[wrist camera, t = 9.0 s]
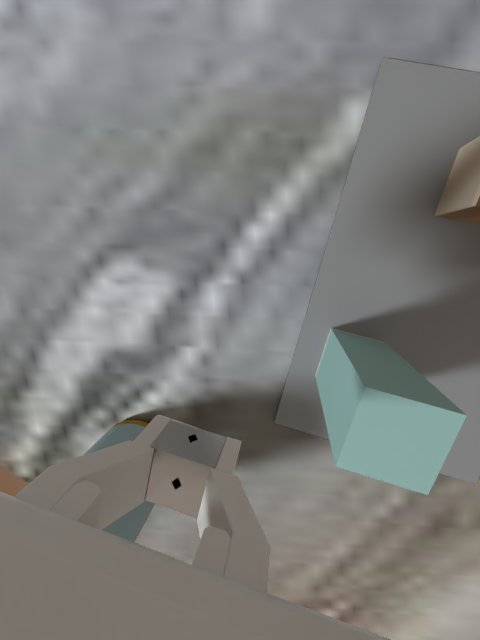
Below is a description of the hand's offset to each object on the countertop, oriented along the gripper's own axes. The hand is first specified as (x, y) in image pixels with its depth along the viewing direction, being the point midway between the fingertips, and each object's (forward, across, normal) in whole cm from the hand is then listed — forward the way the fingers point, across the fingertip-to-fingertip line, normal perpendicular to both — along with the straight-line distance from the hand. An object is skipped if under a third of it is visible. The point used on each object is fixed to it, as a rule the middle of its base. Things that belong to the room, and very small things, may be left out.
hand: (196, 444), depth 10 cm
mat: (+14, -12, -7) cm, 19 cm away
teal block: (+14, -8, -1) cm, 16 cm away
